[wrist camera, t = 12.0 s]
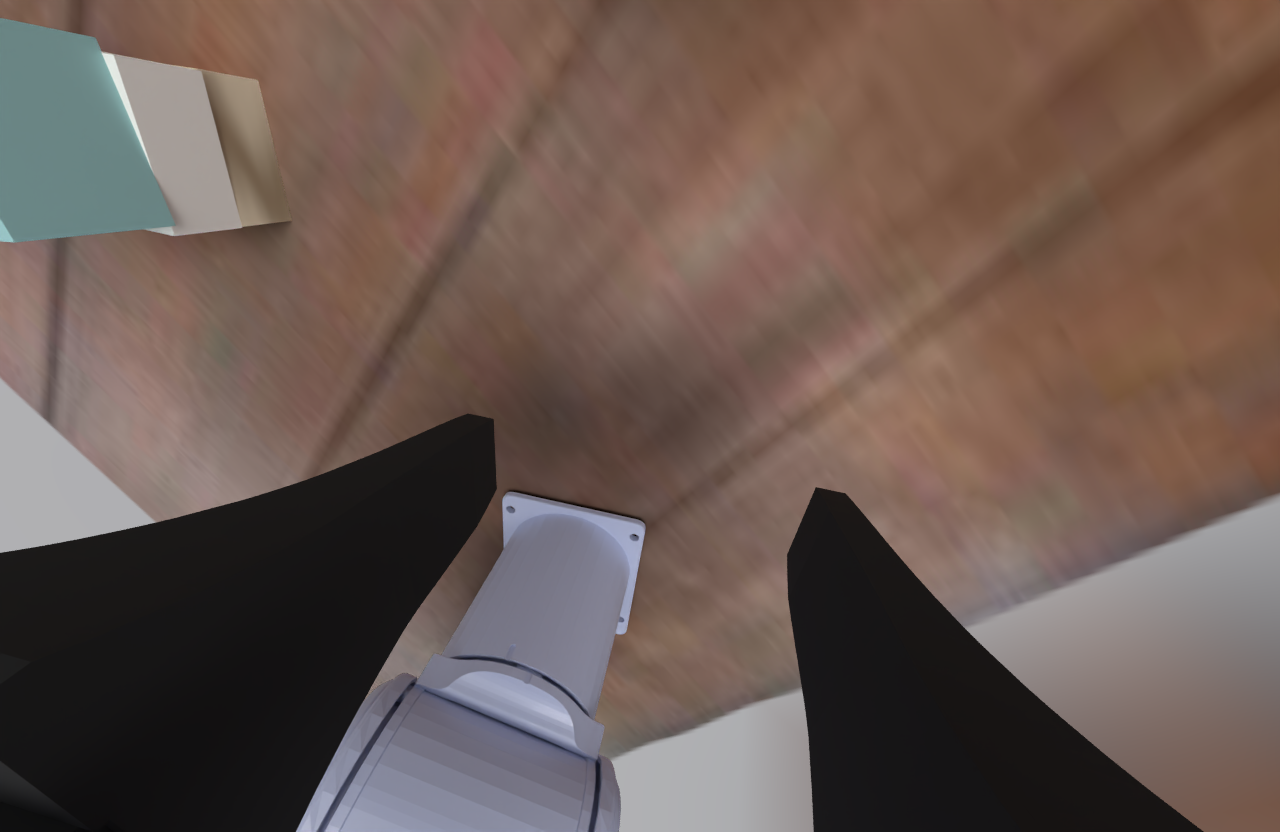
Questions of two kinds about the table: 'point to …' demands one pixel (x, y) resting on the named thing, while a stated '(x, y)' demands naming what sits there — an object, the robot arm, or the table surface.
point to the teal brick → (67, 142)
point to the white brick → (178, 142)
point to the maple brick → (247, 148)
